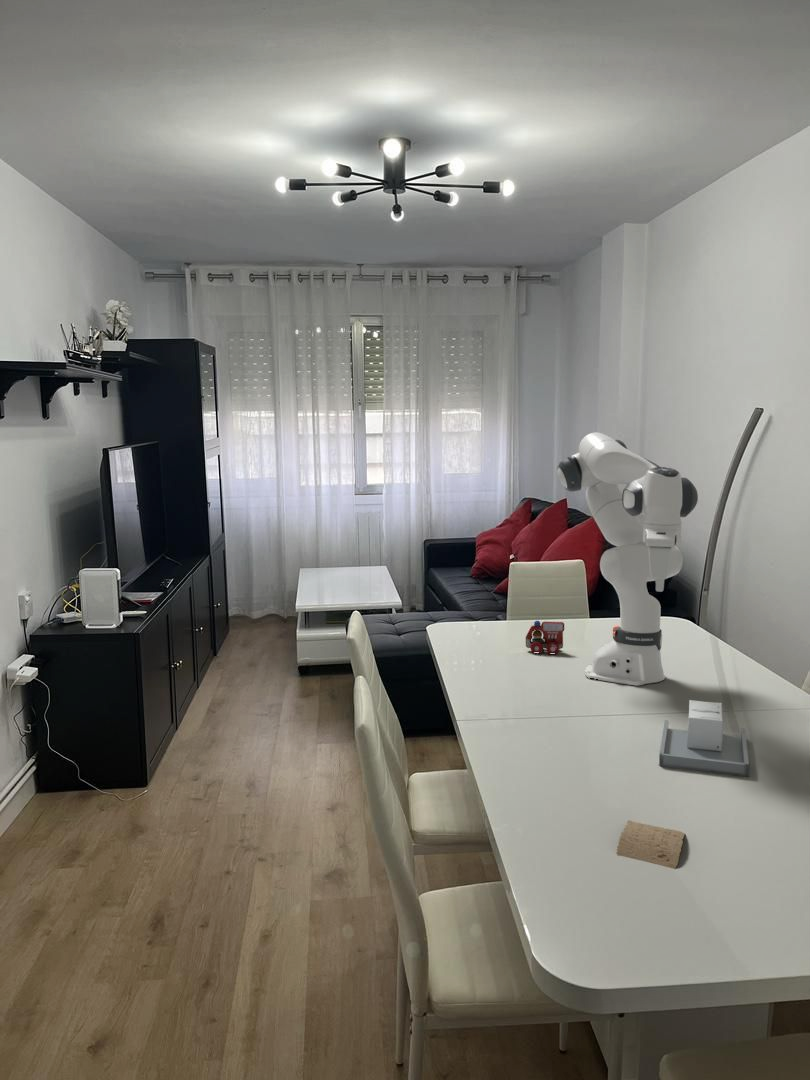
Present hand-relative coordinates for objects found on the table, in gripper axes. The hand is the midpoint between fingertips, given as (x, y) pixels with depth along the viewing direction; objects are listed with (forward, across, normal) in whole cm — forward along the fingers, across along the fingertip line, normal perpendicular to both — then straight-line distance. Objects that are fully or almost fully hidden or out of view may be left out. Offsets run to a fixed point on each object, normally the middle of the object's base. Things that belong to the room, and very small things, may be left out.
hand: (659, 590), depth 195 cm
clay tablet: (+32, +66, +2) cm, 73 cm away
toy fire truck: (+33, -50, -36) cm, 70 cm away
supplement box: (+28, +8, +12) cm, 31 cm away
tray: (+32, +21, +11) cm, 40 cm away
